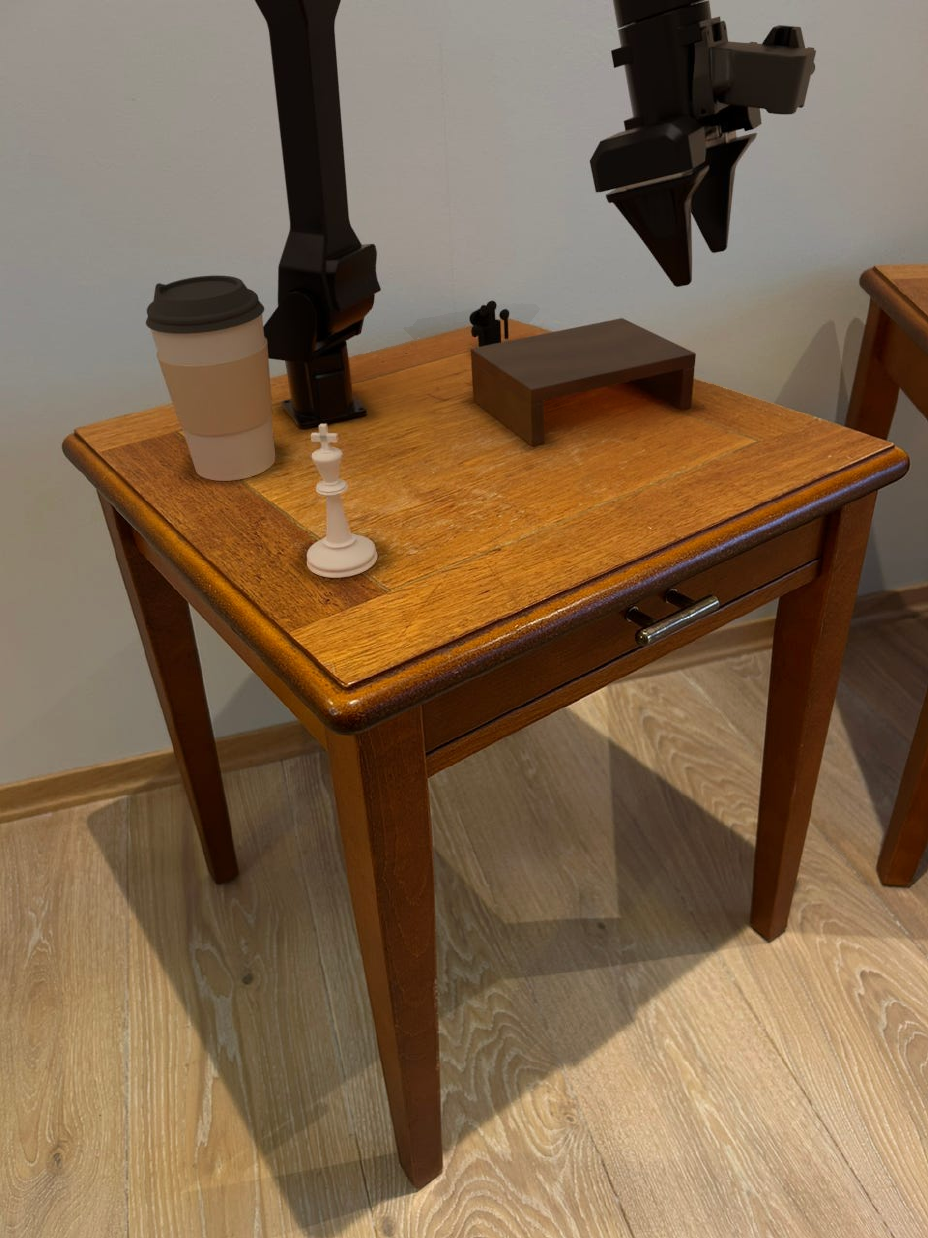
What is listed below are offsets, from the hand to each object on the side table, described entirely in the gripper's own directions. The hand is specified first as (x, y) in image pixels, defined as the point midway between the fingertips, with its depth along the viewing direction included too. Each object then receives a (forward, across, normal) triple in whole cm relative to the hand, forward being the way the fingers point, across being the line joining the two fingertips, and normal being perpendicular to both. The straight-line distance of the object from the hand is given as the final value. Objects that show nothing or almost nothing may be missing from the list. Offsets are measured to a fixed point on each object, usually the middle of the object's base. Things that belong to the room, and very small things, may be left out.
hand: (702, 267), depth 68 cm
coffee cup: (+7, -12, +38) cm, 40 cm away
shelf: (+12, +10, +16) cm, 22 cm away
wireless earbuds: (+8, +20, +30) cm, 37 cm away
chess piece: (+11, -22, +21) cm, 33 cm away
